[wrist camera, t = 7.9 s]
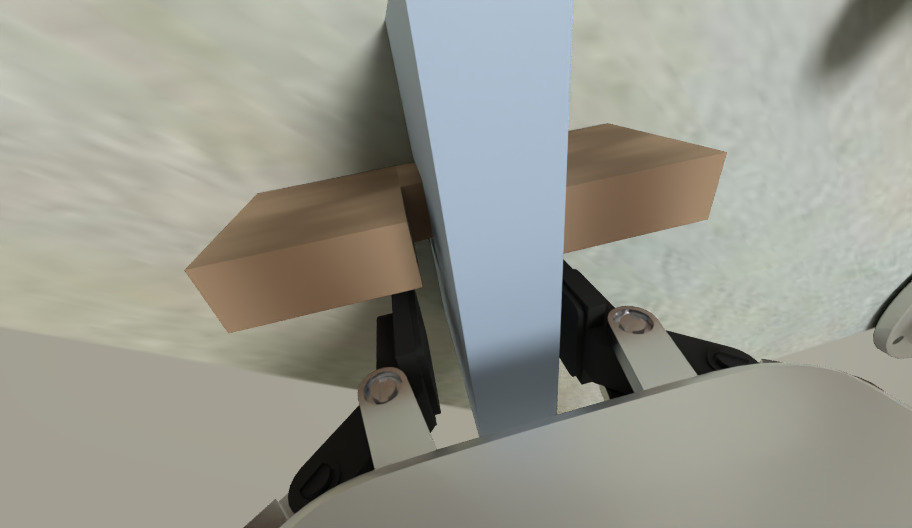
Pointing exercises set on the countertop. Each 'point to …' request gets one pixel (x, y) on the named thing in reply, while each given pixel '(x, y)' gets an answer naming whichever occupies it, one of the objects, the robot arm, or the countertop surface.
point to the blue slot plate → (493, 185)
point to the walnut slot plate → (407, 220)
